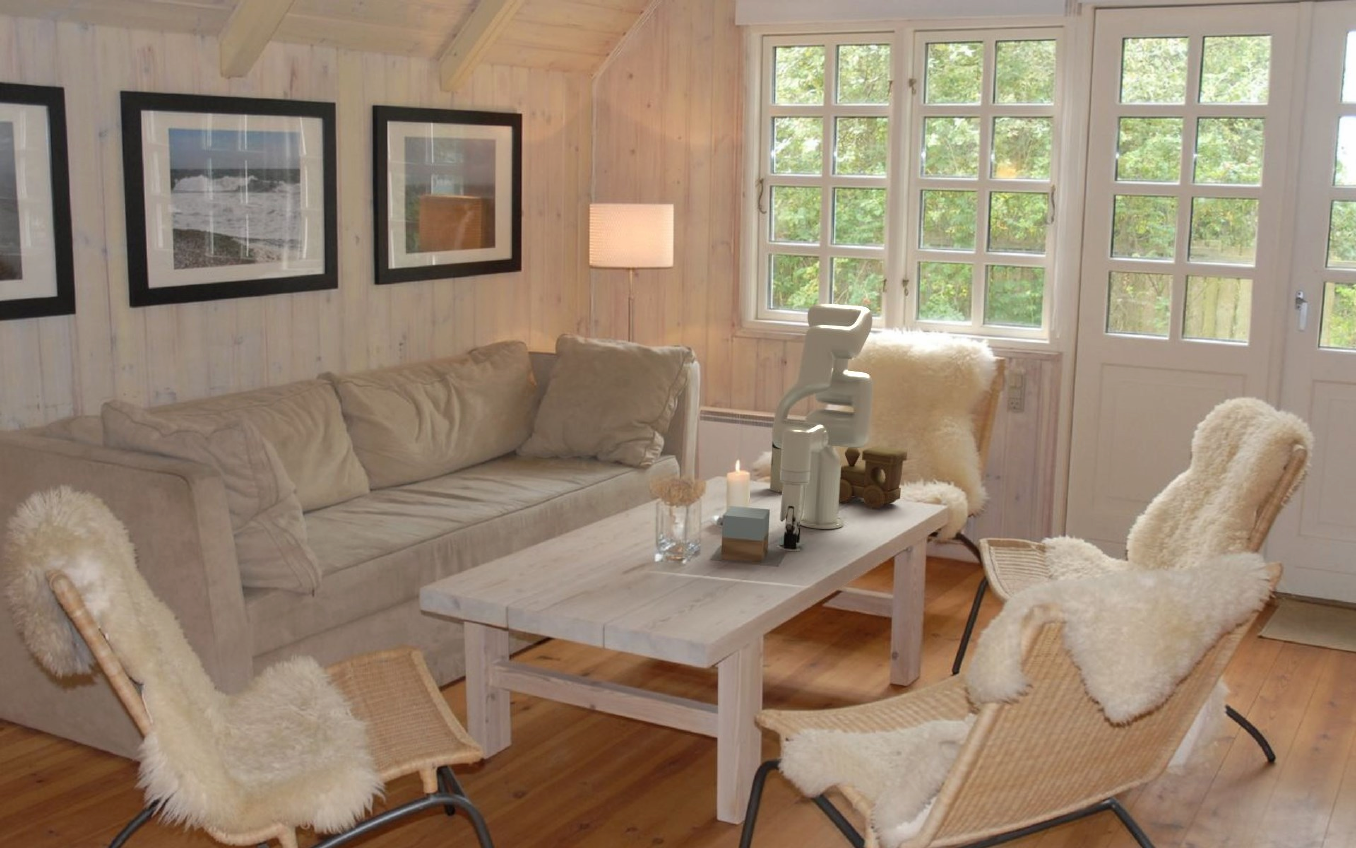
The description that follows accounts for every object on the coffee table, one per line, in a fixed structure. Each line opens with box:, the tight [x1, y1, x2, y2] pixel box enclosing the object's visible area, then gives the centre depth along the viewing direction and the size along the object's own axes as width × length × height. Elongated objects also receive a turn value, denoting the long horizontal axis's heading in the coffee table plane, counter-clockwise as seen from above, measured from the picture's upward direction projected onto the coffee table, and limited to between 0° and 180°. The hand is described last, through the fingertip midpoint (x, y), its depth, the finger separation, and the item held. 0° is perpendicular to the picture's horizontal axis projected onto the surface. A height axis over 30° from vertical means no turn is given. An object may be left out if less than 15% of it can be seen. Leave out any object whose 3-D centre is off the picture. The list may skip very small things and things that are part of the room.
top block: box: [721, 505, 771, 541], centre depth 346 cm, size 10×10×6 cm
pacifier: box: [776, 525, 807, 552], centre depth 356 cm, size 7×6×6 cm
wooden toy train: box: [839, 446, 908, 510], centre depth 408 cm, size 20×11×17 cm, turn 55°
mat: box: [709, 544, 787, 568], centre depth 348 cm, size 14×17×1 cm
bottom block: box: [721, 530, 770, 563], centre depth 347 cm, size 10×10×6 cm
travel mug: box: [769, 440, 784, 494], centre depth 421 cm, size 8×8×18 cm
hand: (791, 544), depth 357 cm, fingers closed on pacifier, 5 cm apart
